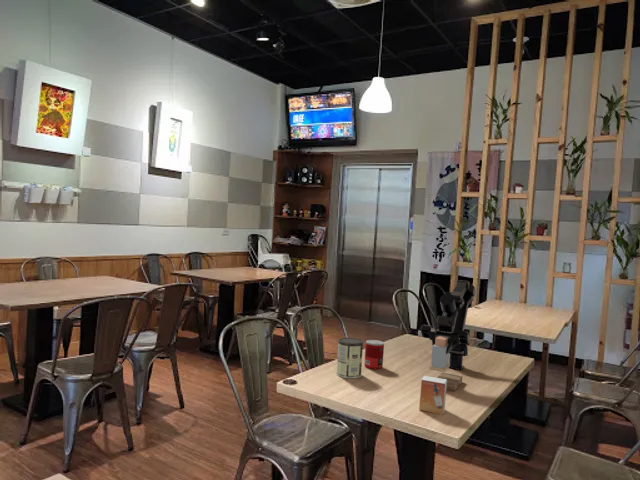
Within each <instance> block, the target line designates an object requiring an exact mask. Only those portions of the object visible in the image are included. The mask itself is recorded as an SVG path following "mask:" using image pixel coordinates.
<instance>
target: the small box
mask: <svg viewBox="0 0 640 480" xmlns="http://www.w3.org/2000/svg"><path fill="white" fill-rule="evenodd" d="M420 384H421V385H420V396H419V408H418V410H419V411H422V412H427V413H432V414H437V415H441V416H443V415H444V413H445V409H446V397H447V390H446V387H447V379H440V378H437V377H433V376H427V375H423V377H422V378H421V382H420Z"/></svg>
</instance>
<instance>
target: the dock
mask: <svg viewBox="0 0 640 480" xmlns="http://www.w3.org/2000/svg"><path fill="white" fill-rule="evenodd" d="M436 378H440V379H447V387H446V391H449V392H455V391H456V390H457V389H458V388H459V386H460V385H461V384H462V383H463V375H459V374H455V373H454V374H453V373H449V372H446V371H445V372H441V373H440V374H439V375H438V376H437V377H436Z"/></svg>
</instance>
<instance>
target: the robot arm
mask: <svg viewBox="0 0 640 480" xmlns="http://www.w3.org/2000/svg"><path fill="white" fill-rule="evenodd" d="M476 292H477V290H476V287H475V286H474V285H473V284H471V283H470V281H468V280H464V279H463V280H461V279H459V280H457V282H456V284H455V287H454V288H453V290H452V291H450V292H449V291H446V293H445V294H442V295H441V296H440V297H439V303H440V308H441V311H442V315H437V318H436V319H437V320H436V325H437V327H436V328H437V329H436V328H433V327H432V325H428V324H422V325H421V326H420V334H421V336H422V338H425V339H429V340H430V341H431V342H432V343H431V347H432V346H433V345H434V344H435V338H437V337H438V336H442V337H448V342H447V344H448V347H447V350H446V354H448V353H449V364H450V367H449V368H448V369H452V370H458V371H462V370H463V368H464V369H465V365H463V362H464V361H463V360H464V359H463V358H464V357H467V356H468V355H469V353H468V352H469V351H468V350H469V349H468V345H469V344H470V333H469V332H468V331H467V330H465V326H466V321H467V315H468V311H469V306H470V304H472V303H473V302H474V299H475V298H474V297H476Z"/></svg>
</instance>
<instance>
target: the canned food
mask: <svg viewBox="0 0 640 480" xmlns="http://www.w3.org/2000/svg"><path fill="white" fill-rule="evenodd" d="M384 349H385V342H383V341H381V340H378V339H368V340H366V341H365V349H364V367H365V368H367V369H369V370H381V369H382V368H383V366H384V364H383V363H384V352H385V350H384Z"/></svg>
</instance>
